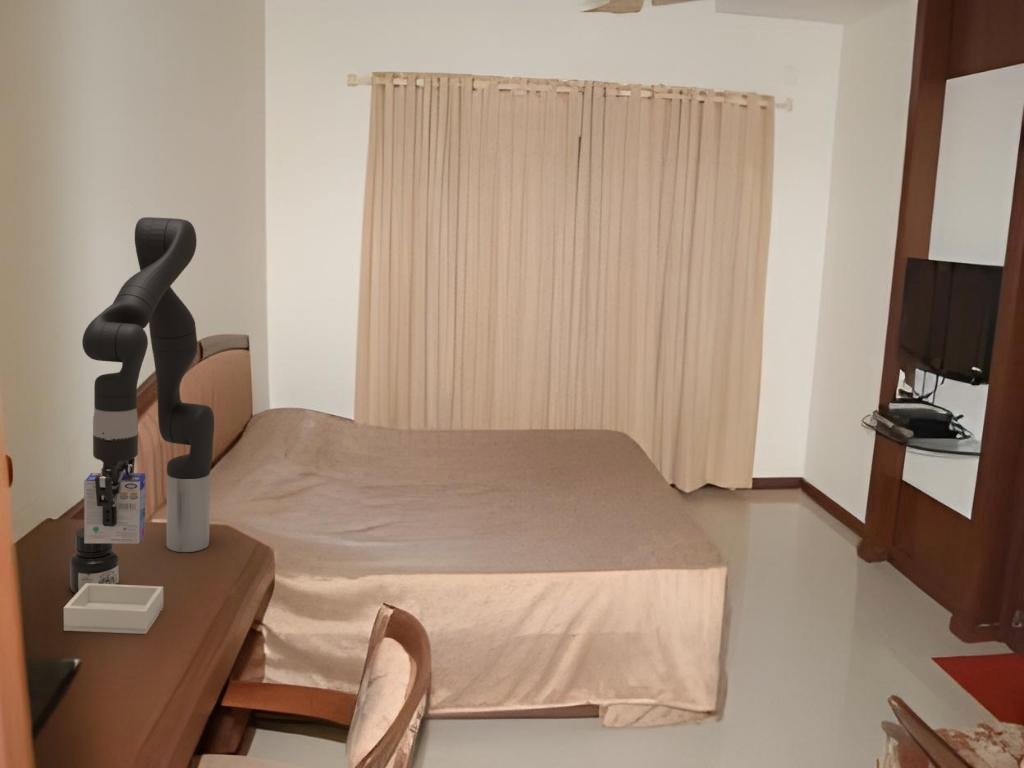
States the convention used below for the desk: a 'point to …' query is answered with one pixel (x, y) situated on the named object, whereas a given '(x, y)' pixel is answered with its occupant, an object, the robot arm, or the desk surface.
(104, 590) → the tray
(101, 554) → the ink bottle
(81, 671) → the desk surface
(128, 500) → the ink cartridge box
